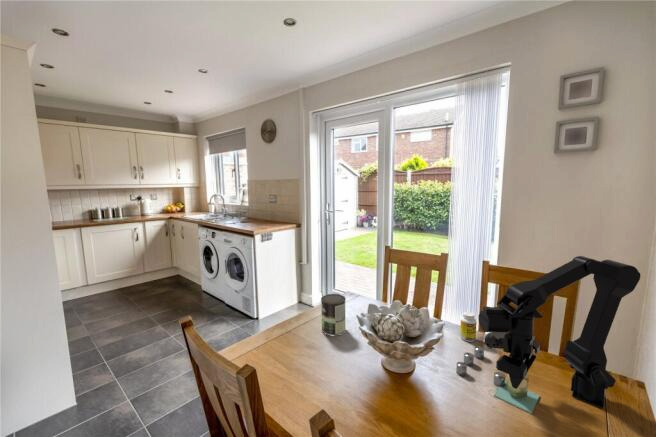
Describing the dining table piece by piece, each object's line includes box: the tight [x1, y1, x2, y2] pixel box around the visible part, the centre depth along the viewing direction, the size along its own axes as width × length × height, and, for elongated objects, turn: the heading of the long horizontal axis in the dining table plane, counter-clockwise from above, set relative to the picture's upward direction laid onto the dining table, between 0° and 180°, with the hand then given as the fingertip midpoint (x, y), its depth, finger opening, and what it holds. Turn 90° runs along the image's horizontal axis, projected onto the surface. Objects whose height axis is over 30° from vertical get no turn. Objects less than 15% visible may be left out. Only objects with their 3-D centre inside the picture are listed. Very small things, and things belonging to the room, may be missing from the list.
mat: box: [493, 380, 541, 415], centre depth 81 cm, size 9×9×1 cm
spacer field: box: [455, 345, 507, 388], centre depth 92 cm, size 14×16×3 cm
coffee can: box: [320, 293, 346, 336], centre depth 120 cm, size 10×10×14 cm
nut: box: [506, 373, 529, 398], centre depth 81 cm, size 5×5×5 cm
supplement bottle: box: [459, 311, 478, 343], centre depth 111 cm, size 6×6×10 cm
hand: (517, 383), depth 81 cm, fingers closed on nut, 5 cm apart
